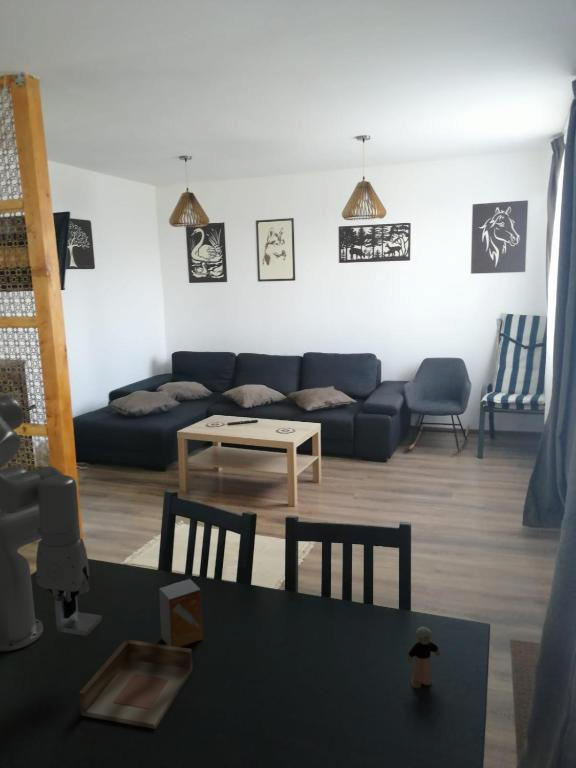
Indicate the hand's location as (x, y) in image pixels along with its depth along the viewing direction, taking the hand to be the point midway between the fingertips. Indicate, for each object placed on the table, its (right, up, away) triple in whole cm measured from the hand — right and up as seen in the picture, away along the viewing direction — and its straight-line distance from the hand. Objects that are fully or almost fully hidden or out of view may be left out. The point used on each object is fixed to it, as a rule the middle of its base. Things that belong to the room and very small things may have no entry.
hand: (67, 614), depth 130 cm
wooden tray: (+17, -15, -4) cm, 22 cm away
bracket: (+3, -2, 0) cm, 4 cm away
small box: (+22, -11, +14) cm, 29 cm away
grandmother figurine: (+76, -13, -3) cm, 77 cm away
